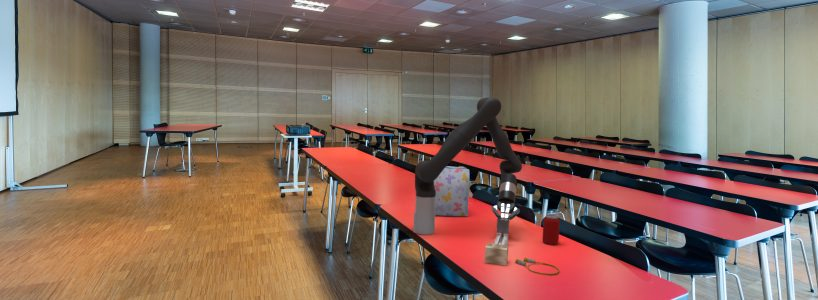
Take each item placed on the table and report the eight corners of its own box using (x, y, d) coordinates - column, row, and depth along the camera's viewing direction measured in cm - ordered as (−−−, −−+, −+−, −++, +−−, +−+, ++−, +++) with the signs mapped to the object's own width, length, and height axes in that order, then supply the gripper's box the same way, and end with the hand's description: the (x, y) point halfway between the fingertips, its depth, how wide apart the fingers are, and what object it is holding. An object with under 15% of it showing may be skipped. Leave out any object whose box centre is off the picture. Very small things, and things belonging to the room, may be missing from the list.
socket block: (484, 262, 164) (485, 247, 163) (486, 257, 169) (487, 242, 169) (506, 265, 161) (506, 249, 161) (507, 260, 167) (508, 245, 166)
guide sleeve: (492, 253, 175) (493, 243, 174) (497, 242, 190) (497, 233, 189) (504, 254, 173) (504, 245, 173) (507, 243, 188) (508, 234, 188)
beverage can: (559, 242, 192) (560, 215, 191) (557, 246, 186) (559, 219, 185) (543, 239, 195) (545, 213, 194) (541, 244, 189) (542, 217, 188)
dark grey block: (492, 252, 174) (493, 227, 173) (497, 239, 191) (498, 217, 190) (504, 253, 172) (506, 228, 171) (508, 241, 189) (509, 218, 188)
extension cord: (539, 260, 170) (540, 255, 170) (566, 275, 155) (566, 269, 155) (512, 262, 166) (513, 257, 166) (537, 278, 151) (537, 272, 151)
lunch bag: (464, 210, 248) (466, 164, 246) (470, 217, 231) (472, 168, 229) (425, 209, 247) (427, 163, 244) (428, 217, 230) (430, 167, 228)
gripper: (492, 188, 200) (487, 220, 189) (521, 190, 196) (518, 223, 185) (493, 197, 205) (488, 229, 195) (521, 200, 201) (518, 232, 191)
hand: (503, 226), depth 190 cm, fingers closed
